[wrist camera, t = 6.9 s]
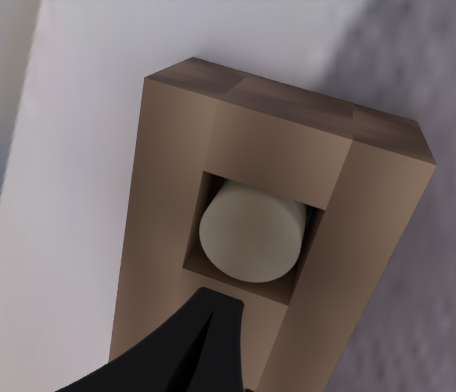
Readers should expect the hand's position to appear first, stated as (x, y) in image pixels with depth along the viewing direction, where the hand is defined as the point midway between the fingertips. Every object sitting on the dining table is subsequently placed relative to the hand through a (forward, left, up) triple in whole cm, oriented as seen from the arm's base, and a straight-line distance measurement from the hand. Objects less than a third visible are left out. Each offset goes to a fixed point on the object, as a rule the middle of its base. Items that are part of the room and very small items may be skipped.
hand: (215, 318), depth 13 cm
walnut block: (0, +5, -9) cm, 11 cm away
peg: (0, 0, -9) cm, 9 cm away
